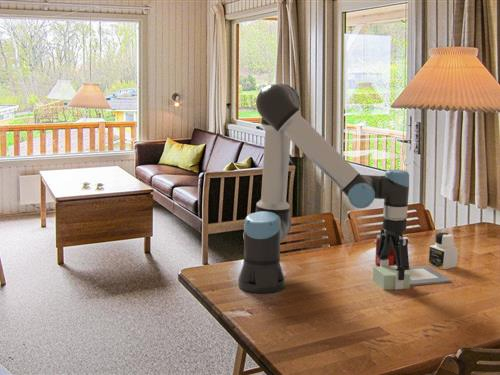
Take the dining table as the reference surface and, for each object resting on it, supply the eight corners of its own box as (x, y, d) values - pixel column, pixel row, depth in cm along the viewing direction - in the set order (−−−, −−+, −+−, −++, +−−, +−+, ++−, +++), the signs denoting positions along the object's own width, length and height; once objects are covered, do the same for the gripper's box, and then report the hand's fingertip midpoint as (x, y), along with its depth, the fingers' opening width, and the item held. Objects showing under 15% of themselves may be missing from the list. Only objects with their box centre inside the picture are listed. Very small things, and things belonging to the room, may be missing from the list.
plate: (409, 285, 192) (409, 283, 192) (385, 270, 207) (385, 268, 207) (451, 281, 196) (451, 279, 196) (425, 267, 211) (425, 265, 211)
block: (383, 290, 189) (384, 275, 188) (372, 280, 197) (373, 266, 196) (409, 288, 190) (410, 274, 189) (397, 279, 199) (398, 265, 198)
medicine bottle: (428, 264, 215) (430, 232, 213) (442, 261, 218) (444, 230, 216) (442, 269, 209) (444, 237, 206) (457, 267, 212) (459, 235, 210)
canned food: (398, 269, 209) (400, 239, 206) (375, 268, 210) (377, 238, 208) (396, 262, 216) (398, 234, 214) (374, 261, 217) (376, 233, 215)
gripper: (424, 225, 180) (419, 294, 184) (388, 209, 201) (385, 271, 205) (402, 226, 178) (397, 296, 182) (368, 210, 199) (365, 273, 203)
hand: (391, 283), depth 194 cm, fingers open, 10 cm apart
